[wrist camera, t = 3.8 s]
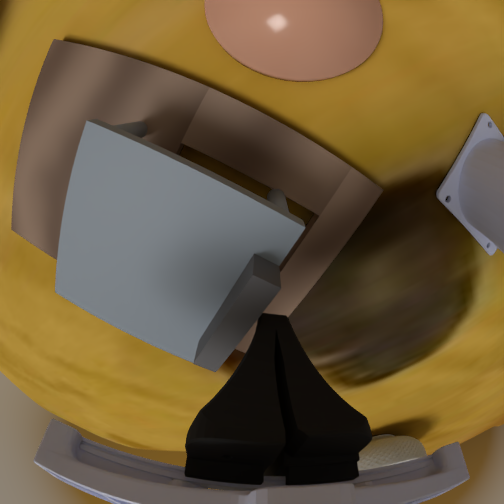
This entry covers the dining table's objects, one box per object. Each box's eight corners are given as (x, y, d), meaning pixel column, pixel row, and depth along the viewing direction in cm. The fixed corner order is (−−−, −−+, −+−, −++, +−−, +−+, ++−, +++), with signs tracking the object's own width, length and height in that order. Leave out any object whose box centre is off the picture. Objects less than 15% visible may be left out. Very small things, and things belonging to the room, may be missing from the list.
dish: (399, 3, 10) (406, -1, 9) (329, 113, 14) (334, 114, 13) (259, -67, 8) (259, -74, 7) (177, 39, 12) (172, 36, 11)
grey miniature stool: (293, 193, 15) (311, 246, 10) (216, 315, 19) (201, 389, 14) (134, 114, 13) (63, 124, 8) (91, 252, 17) (41, 308, 12)
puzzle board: (377, 185, 16) (383, 189, 15) (254, 347, 23) (254, 355, 22) (62, 40, 11) (53, 39, 10) (18, 224, 18) (11, 229, 17)
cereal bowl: (303, 459, 38) (305, 494, 31) (366, 419, 30) (375, 463, 24) (374, 459, 40) (379, 488, 34) (435, 419, 33) (446, 452, 26)
